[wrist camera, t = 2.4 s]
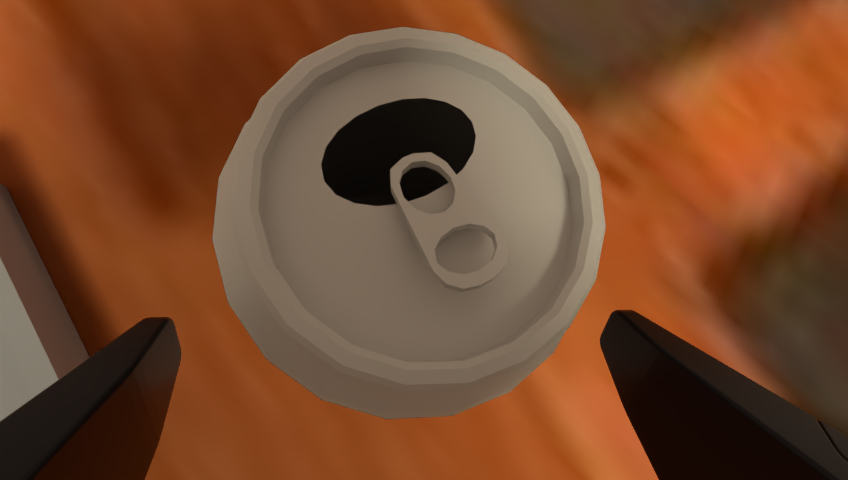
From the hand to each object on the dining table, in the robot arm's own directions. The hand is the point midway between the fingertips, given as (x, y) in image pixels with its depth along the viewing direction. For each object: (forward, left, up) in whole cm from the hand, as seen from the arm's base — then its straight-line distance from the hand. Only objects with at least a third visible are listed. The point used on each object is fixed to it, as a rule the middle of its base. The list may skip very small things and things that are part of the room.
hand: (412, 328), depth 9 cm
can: (+2, +1, -10) cm, 10 cm away
